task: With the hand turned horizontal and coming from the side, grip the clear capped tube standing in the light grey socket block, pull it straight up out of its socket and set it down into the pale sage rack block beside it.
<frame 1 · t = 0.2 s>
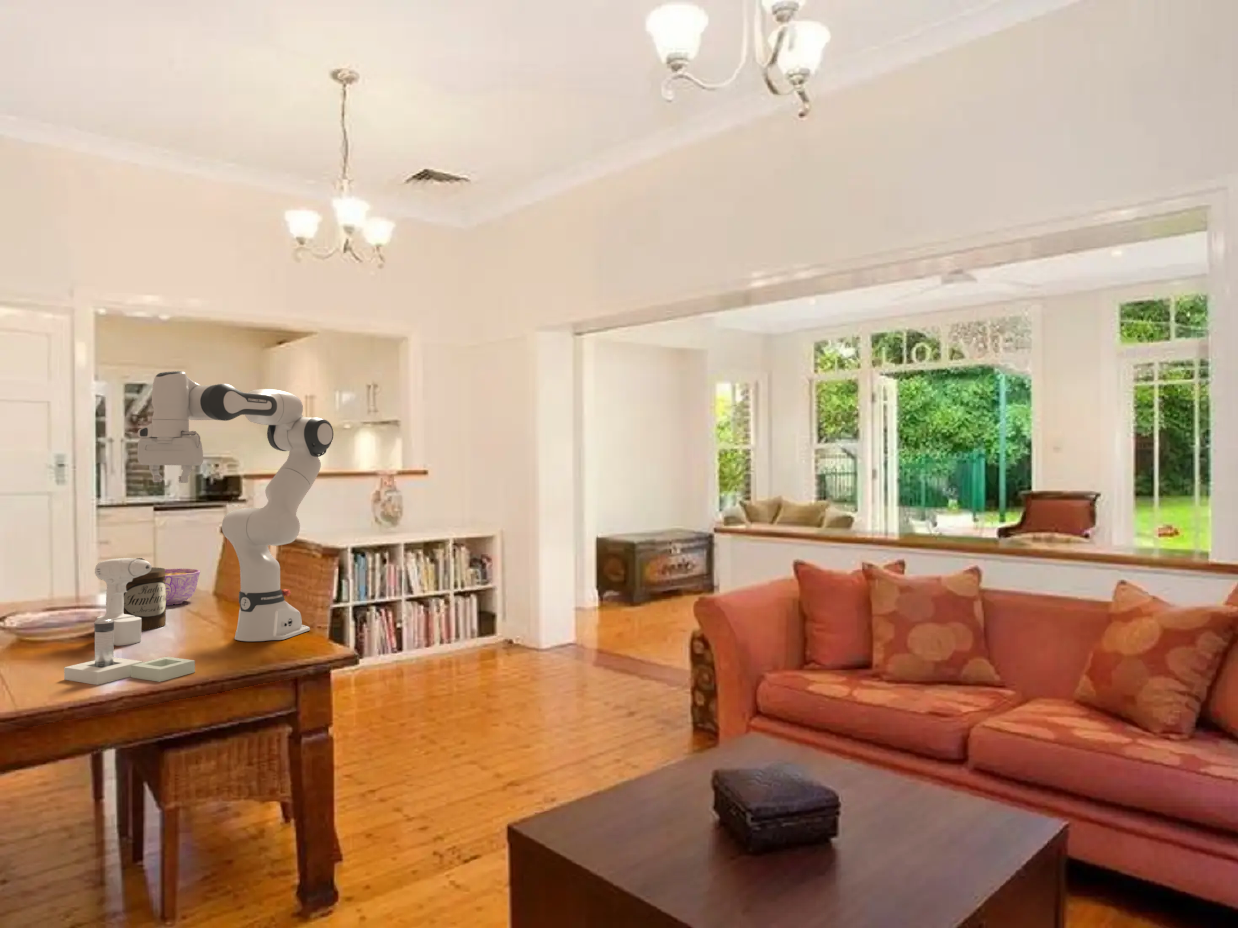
hand: (170, 482, 228), 48 cm above the table, tool pointing down, fingers open, 8 cm apart
power drill: (124, 643, 248), on the table
rack block: (163, 674, 213), on the table
socket block: (104, 676, 211), on the table
brown cylinder: (139, 627, 272), on the table
clear capped tube: (104, 648, 211), in the socket block
bowl of food: (170, 603, 314), on the table
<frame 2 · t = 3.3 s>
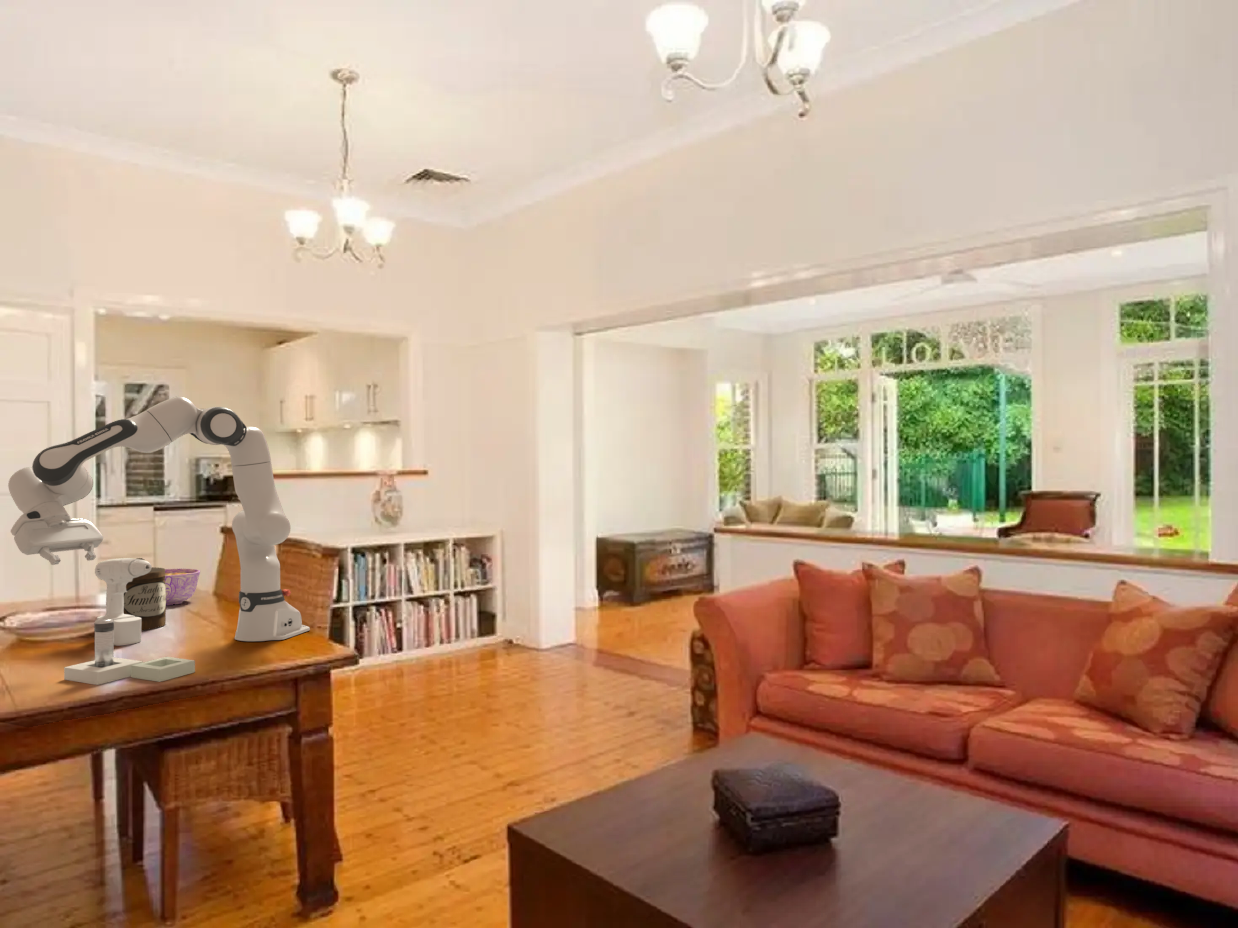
hand: (74, 560, 218), 28 cm above the table, tool tilted 45°, fingers open, 8 cm apart
nothing on the table moved.
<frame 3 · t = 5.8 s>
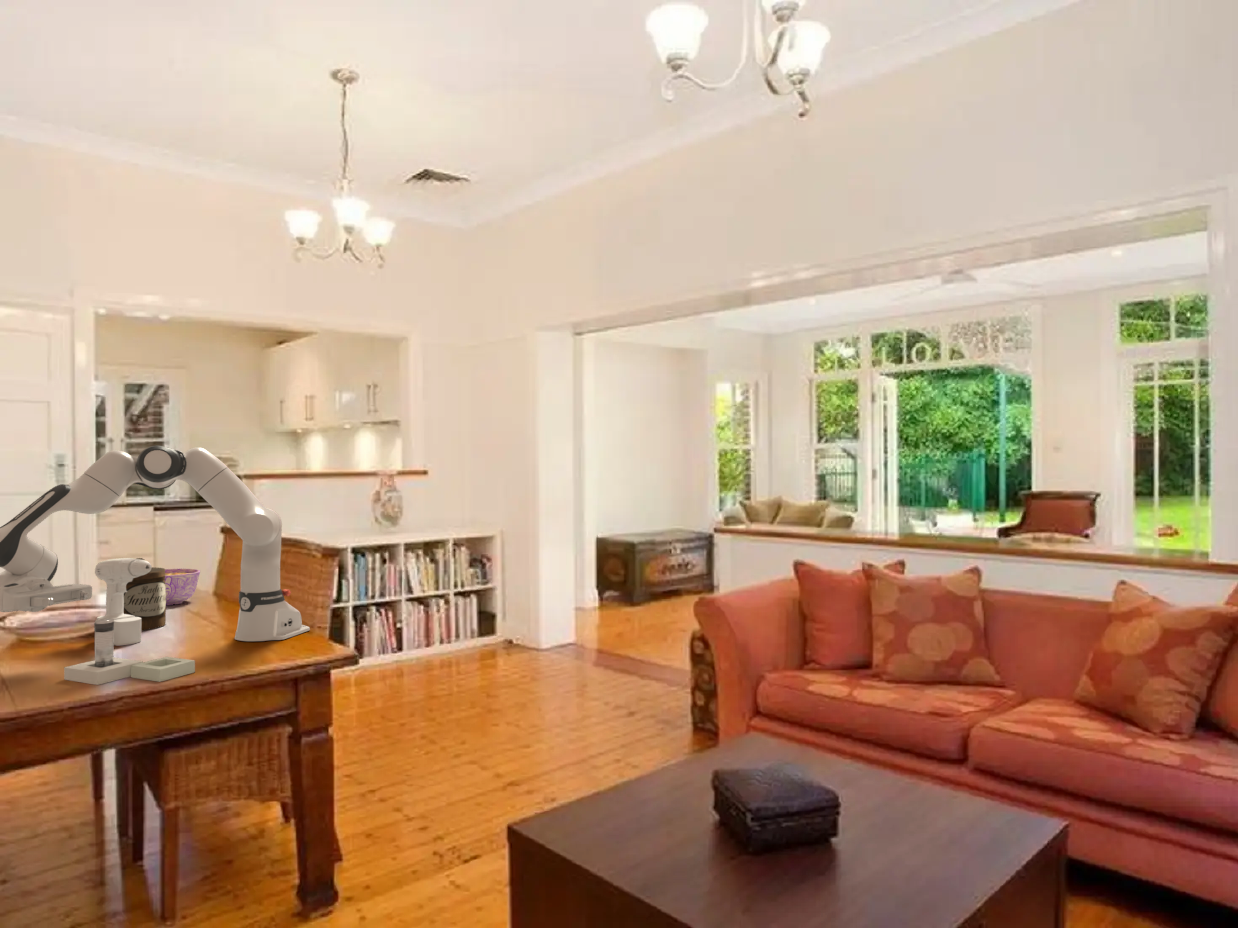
hand: (69, 599, 216), 18 cm above the table, tool horizontal, fingers open, 8 cm apart
nothing on the table moved.
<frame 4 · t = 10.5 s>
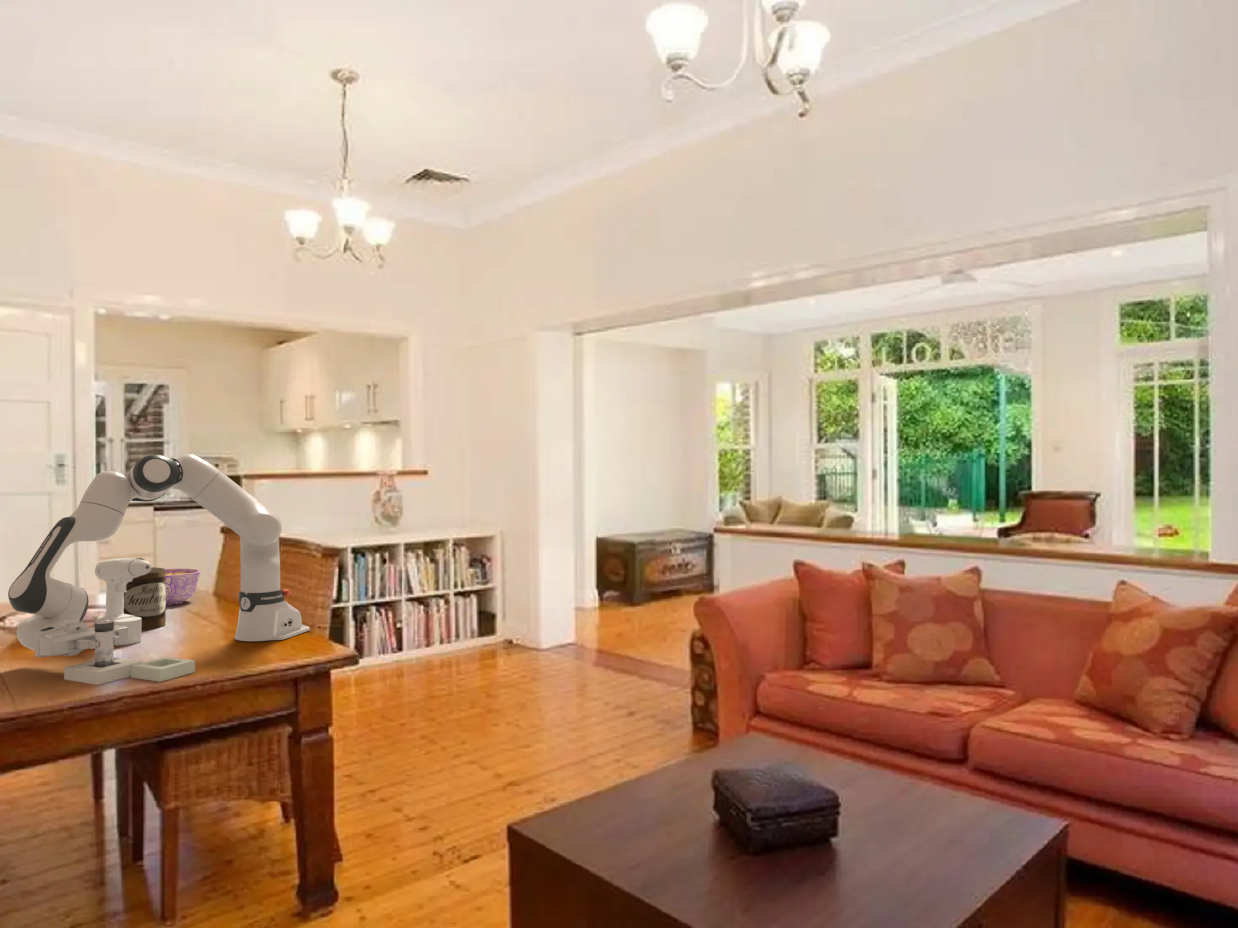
hand: (106, 642, 211), 9 cm above the table, tool horizontal, fingers closed on clear capped tube, 4 cm apart
clear capped tube: (104, 648, 211), in the socket block, touching gripper
everything else where it was.
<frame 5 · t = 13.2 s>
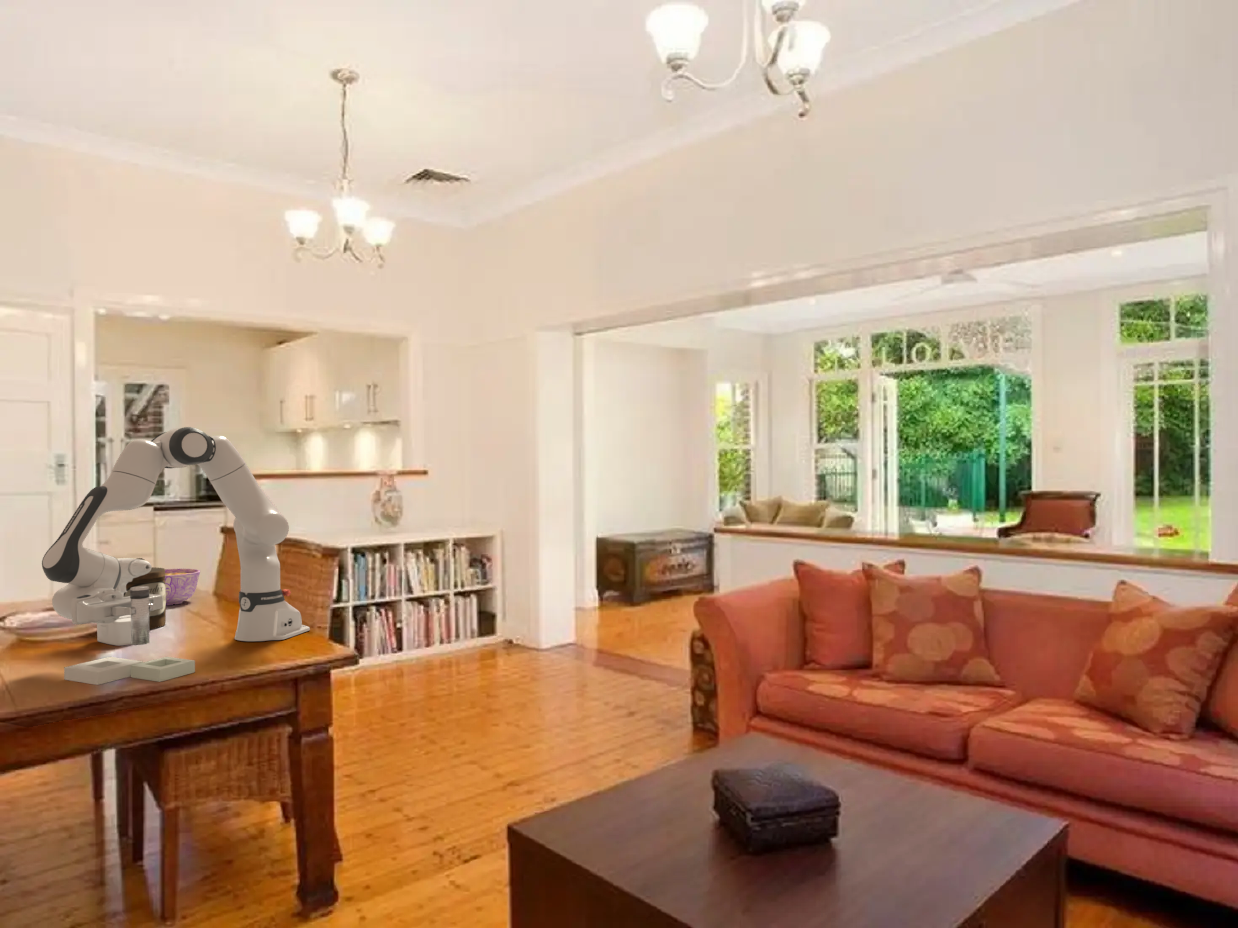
hand: (142, 609, 211), 17 cm above the table, tool horizontal, fingers closed on clear capped tube, 4 cm apart
clear capped tube: (140, 615, 212), point 15 cm above the table, touching gripper
everything else where it was.
when the fingers open (10 cm above the table, at t = 15.8 s): clear capped tube drops 1 cm, resting in rack block.
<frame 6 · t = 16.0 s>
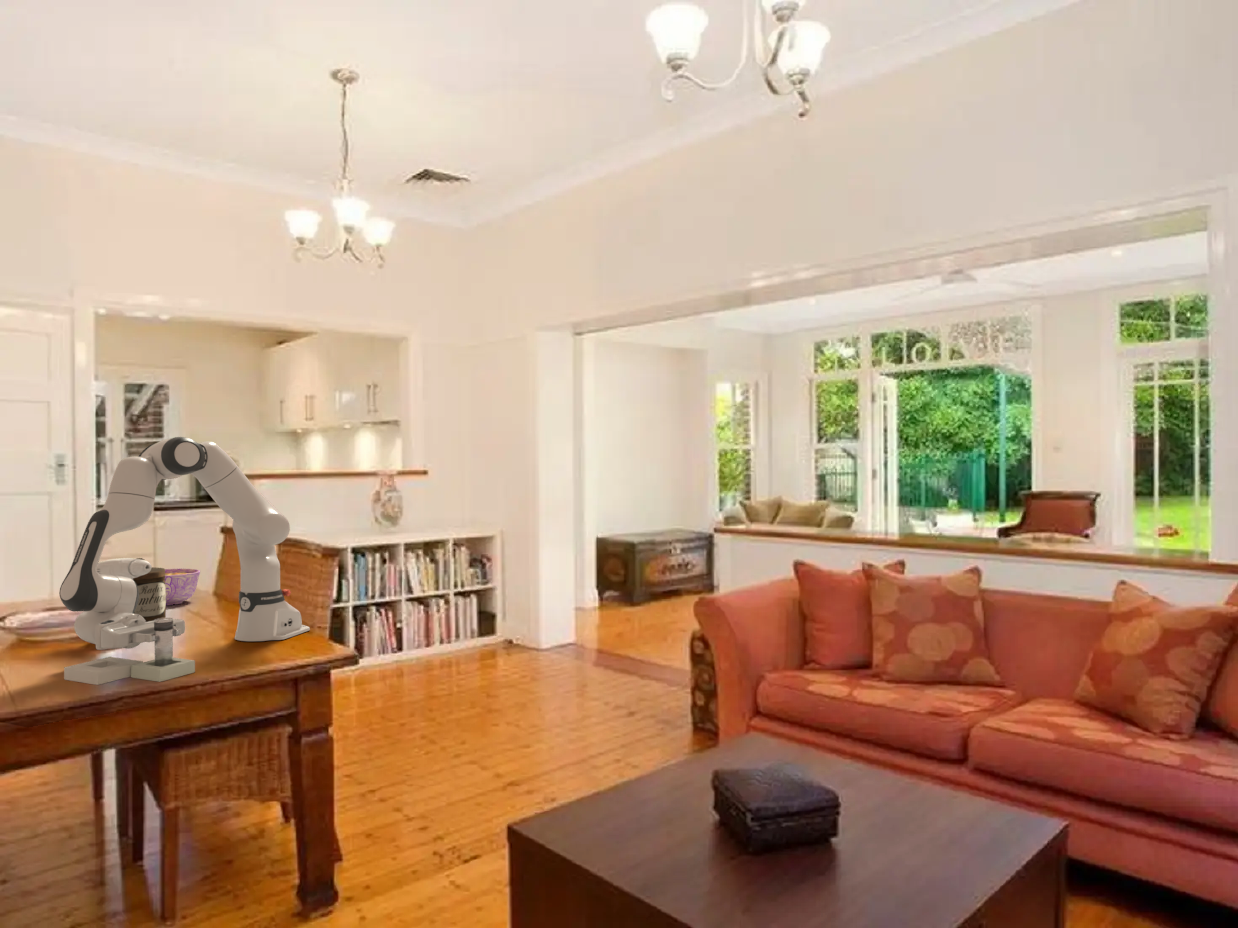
hand: (166, 635, 212), 10 cm above the table, tool horizontal, fingers open, 6 cm apart
clear capped tube: (163, 646, 213), in the rack block
everything else where it was.
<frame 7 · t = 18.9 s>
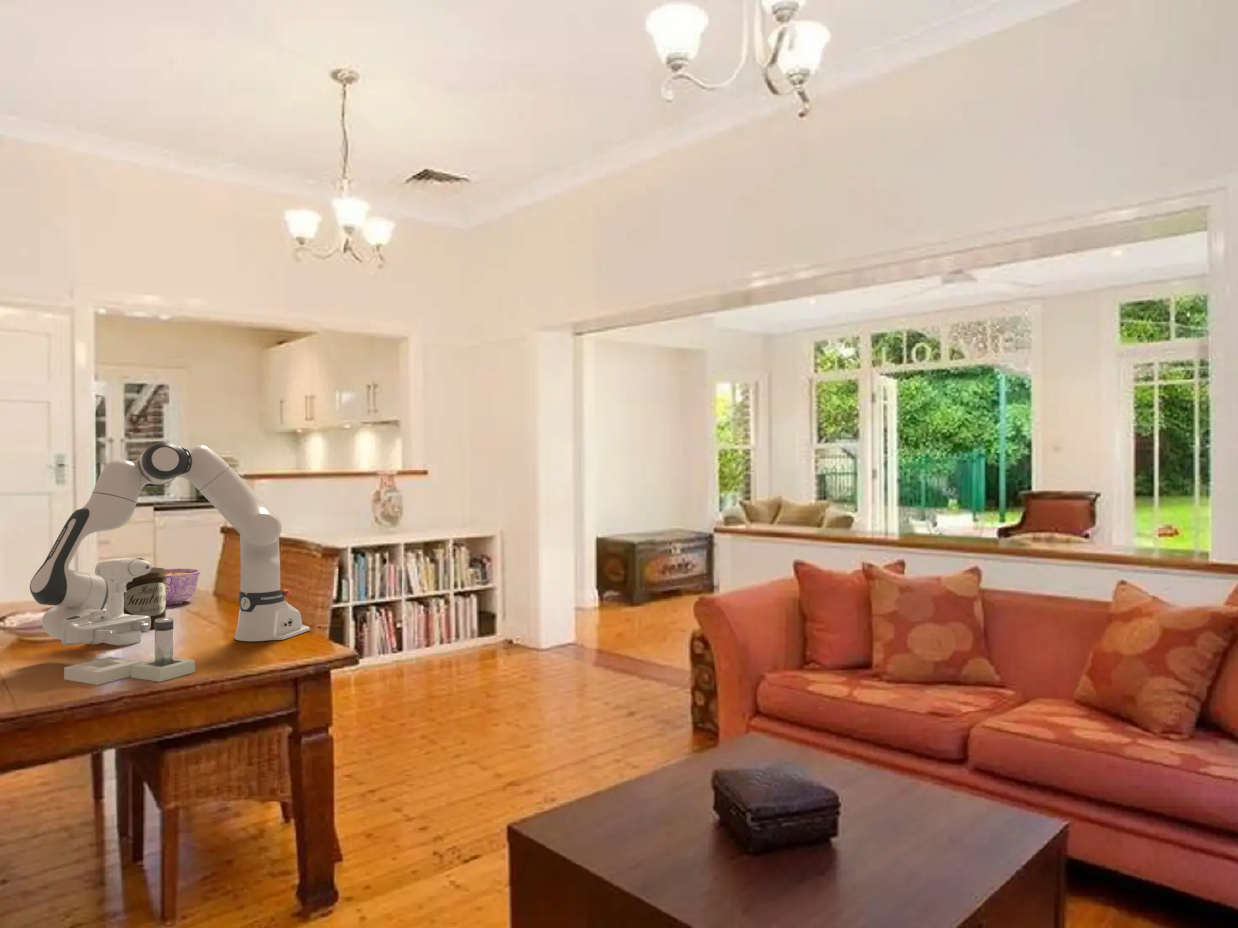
hand: (130, 630, 217), 10 cm above the table, tool horizontal, fingers open, 8 cm apart
nothing on the table moved.
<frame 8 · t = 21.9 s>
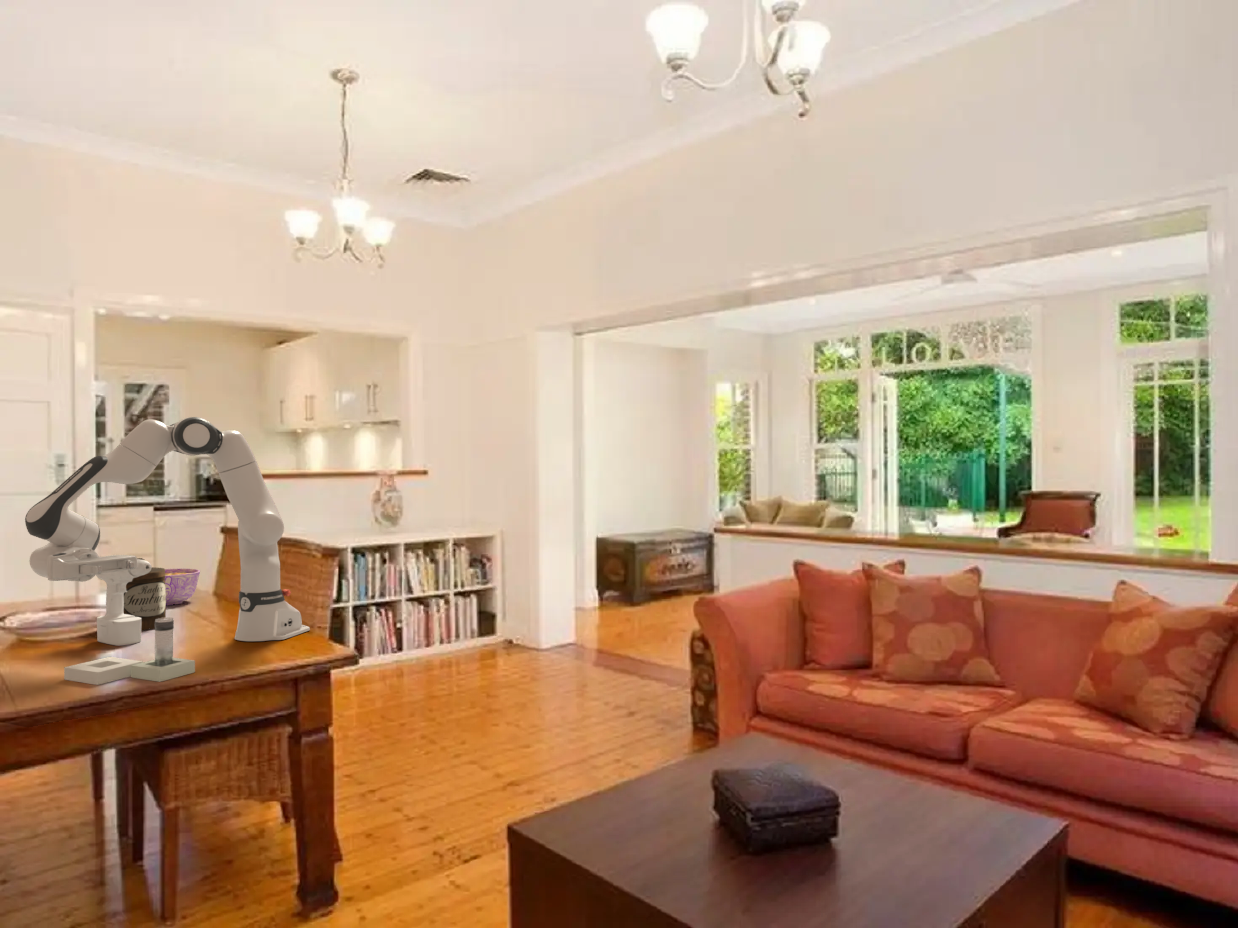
hand: (116, 567, 219), 26 cm above the table, tool horizontal, fingers open, 8 cm apart
nothing on the table moved.
at the end: clear capped tube 0.1 cm off-centre on the rack block, point 7.0 cm above the rack block's base; clear capped tube tilted 1°; the gripper is holding nothing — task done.
